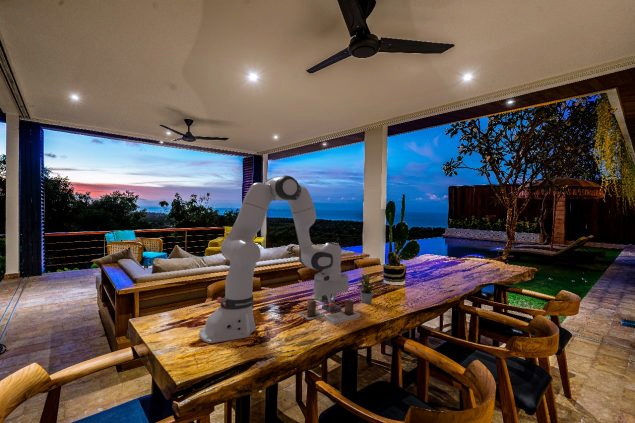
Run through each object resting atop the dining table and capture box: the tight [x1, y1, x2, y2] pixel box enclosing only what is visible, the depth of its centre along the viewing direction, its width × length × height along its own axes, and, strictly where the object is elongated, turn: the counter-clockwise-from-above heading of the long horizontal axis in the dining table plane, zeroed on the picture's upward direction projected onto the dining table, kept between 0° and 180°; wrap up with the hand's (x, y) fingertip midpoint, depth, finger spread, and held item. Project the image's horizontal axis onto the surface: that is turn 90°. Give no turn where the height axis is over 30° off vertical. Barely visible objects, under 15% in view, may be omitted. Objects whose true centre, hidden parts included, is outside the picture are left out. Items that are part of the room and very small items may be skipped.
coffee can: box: [313, 272, 332, 302], centre depth 169 cm, size 10×10×14 cm
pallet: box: [323, 310, 361, 325], centre depth 138 cm, size 16×7×2 cm, turn 125°
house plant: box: [355, 273, 379, 306], centre depth 164 cm, size 14×14×16 cm
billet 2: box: [344, 299, 354, 316], centre depth 140 cm, size 4×4×7 cm
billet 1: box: [306, 299, 317, 318], centre depth 141 cm, size 4×4×7 cm
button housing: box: [321, 303, 342, 314], centre depth 150 cm, size 7×7×2 cm
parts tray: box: [298, 310, 326, 321], centre depth 141 cm, size 9×9×2 cm
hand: (331, 302), depth 149 cm, fingers closed
